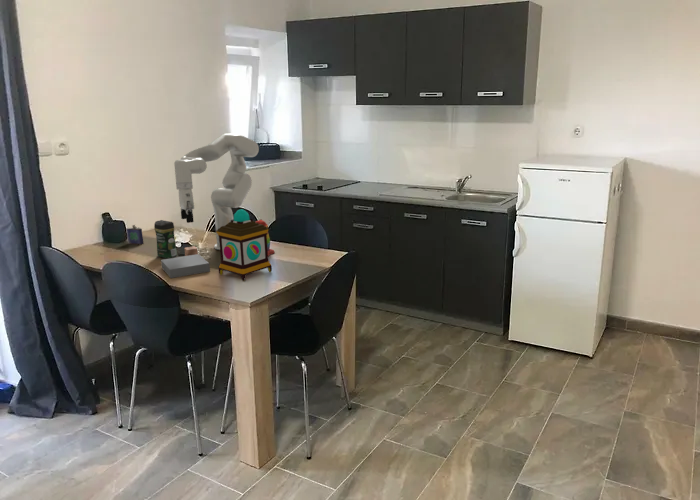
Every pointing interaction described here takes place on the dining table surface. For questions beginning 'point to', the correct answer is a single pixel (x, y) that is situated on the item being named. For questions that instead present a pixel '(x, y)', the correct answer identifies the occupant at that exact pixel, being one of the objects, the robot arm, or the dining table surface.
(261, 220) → the stacking bear
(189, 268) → the gray square slab
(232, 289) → the dining table surface
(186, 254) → the terracotta block
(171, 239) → the coffee jar
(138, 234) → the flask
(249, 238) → the decorative lantern
